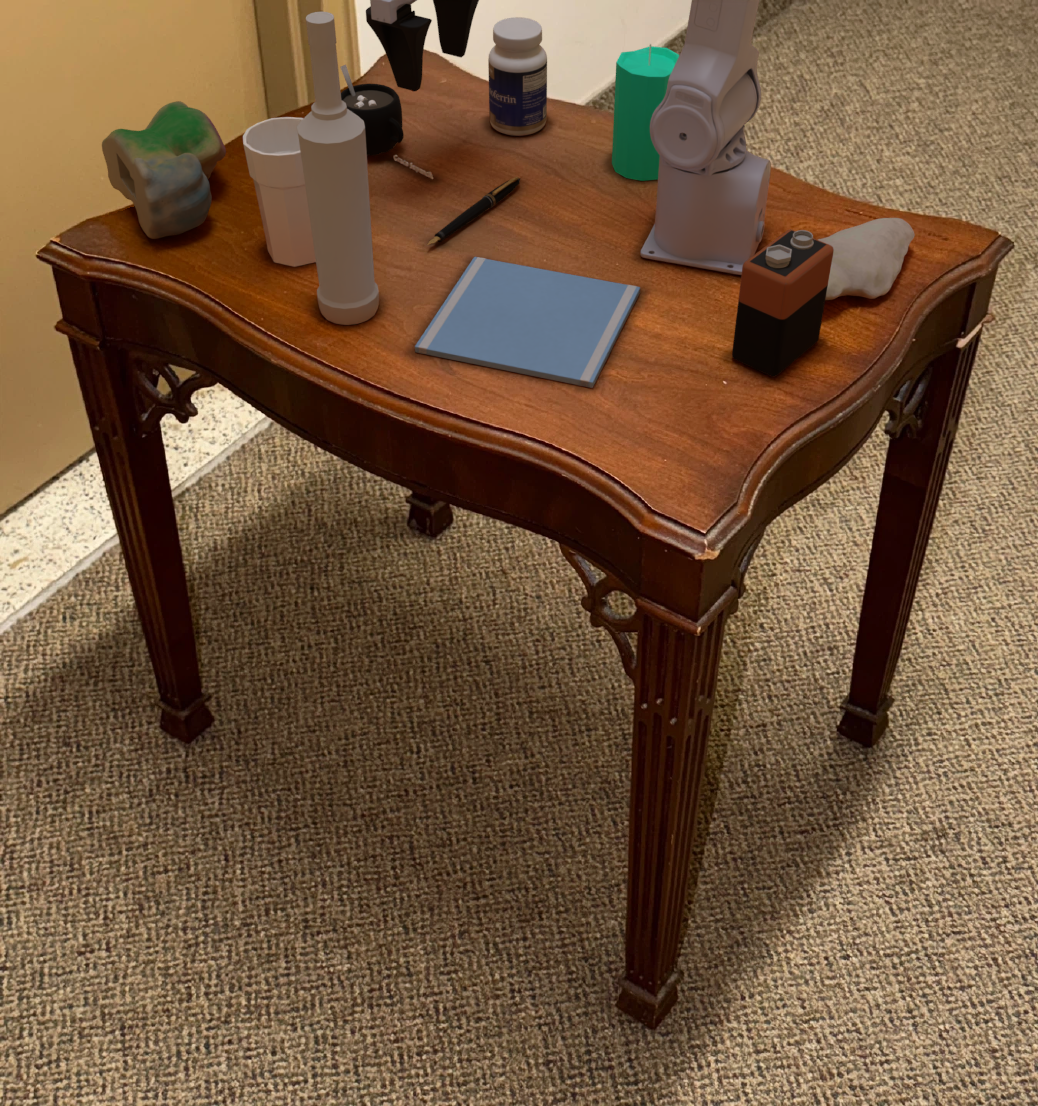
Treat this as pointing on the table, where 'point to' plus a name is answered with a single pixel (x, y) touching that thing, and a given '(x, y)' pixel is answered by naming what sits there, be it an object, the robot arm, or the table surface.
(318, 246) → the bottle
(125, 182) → the sculpture
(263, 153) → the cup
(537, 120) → the pill bottle
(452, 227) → the fountain pen
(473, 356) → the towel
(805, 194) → the table surface
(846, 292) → the stone tool
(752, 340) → the battery
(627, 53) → the candle
